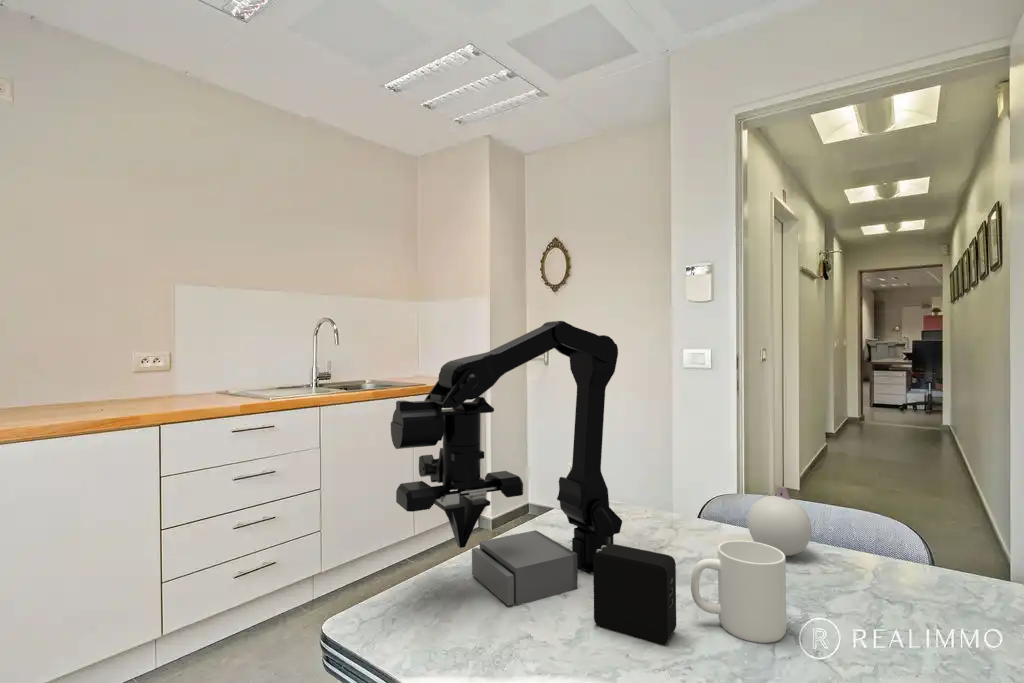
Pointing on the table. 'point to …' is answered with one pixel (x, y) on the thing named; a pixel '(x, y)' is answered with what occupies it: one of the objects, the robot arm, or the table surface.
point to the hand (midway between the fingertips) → (461, 546)
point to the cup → (747, 590)
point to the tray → (493, 576)
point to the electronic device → (635, 592)
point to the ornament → (780, 523)
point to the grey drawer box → (534, 564)
